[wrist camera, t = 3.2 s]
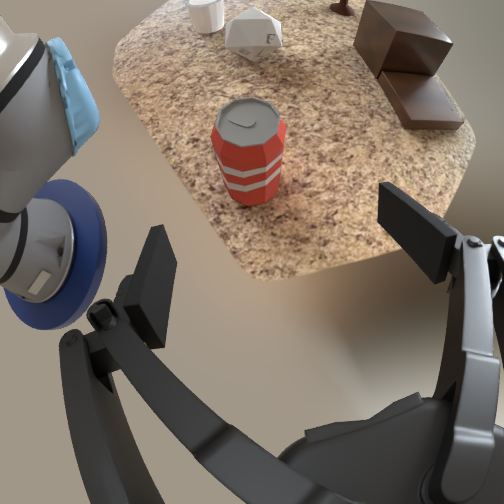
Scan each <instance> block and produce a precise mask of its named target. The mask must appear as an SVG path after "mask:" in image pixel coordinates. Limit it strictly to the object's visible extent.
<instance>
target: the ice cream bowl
mask: <svg viewBox="0 0 504 504" xmlns="http://www.w3.org/2000/svg"><path fill="white" fill-rule="evenodd" d="M347 4H348V0H340V3H335V4H331V6H330V9H331V10H332V11H333V12H336V13H338V14H340V15H346V16H351V15H354V10H353V9H352V8H351V7H349V6H348V5H347Z"/></svg>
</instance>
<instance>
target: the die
mask: <svg viewBox="0 0 504 504" xmlns="http://www.w3.org/2000/svg"><path fill="white" fill-rule="evenodd" d="M280 47H282V39H281V22H279V21H277V20H276V19H274V18H272V17H271V16H269V15H267V14H266V13H264V12H262V11H260V10H258V9H257V8H255V7H253V6H252V7H251V8H249V9H248V10H246V11H244V12H243V13H241V14H239V15H238V16H236V17H235V18H233V19H232V20H230V21H229V22H227V23H226V33H225V48H227V49H229V50H231V51H233V52H235V53H237V54H239V55H241V56H243V57H245V58H247V59H249V60H250V61H252V62H255V61H257V60H258V59H260V58H262V57H263V56H266V55H267V54H269V53H271V52H273V51H275V50H276V49H278V48H280Z"/></svg>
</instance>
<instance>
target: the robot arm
mask: <svg viewBox="0 0 504 504" xmlns="http://www.w3.org/2000/svg"><path fill="white" fill-rule="evenodd" d="M99 122H100V115H99V111H98V108H97V106H96V103H95V101H94V99H93V97H92V95H91V93H90V91H89V89H88V86H87V84H86V83H85V81H84V78H83V77H82V75H81V73H80V71H79V69H78V68H77V66H75V62H74V61H73V59H72V57H71V54H70V52H69V51H68V49H67V47H66V46H65V44H64V42H63V41H62V40H61V39H60V38H58V37H57V38H54V39H52V40H48V41H47V42H46V43H45V45H44V44H43V42H42V41H41V39H40V38H39V36H38V35H37V34H36V33H23V34H14V33H13V32H12V31H11V29H10V28H9V27H8V25H7V24H6V23H5V21H4V20H3V18H2V17H1V16H0V285H1V286H2V287H4V288H5V289H7V290H8V291H10V292H12V293H14V294H15V295H16V296H18V297H19V298H21V299H23V300H25V301H28V302H32V303H45V302H48V301H50V300H52V299H53V298H55V297H56V296H57V295H58V294H59V293H60V292H61V291H62V289H63V288H64V286H65V285H66V283H67V281H68V279H69V277H70V275H71V272H72V269H73V266H74V262H75V257H76V251H77V234H76V228H75V224H74V221H73V218H72V216H71V214H70V213H69V211H68V210H67V209H66V208H65V207H64V206H62V205H61V204H59V203H57V202H55V201H53V200H50V199H36V198H33V197H34V196H35V195H36V194H37V193H38V191H39V190H40V189H41V188H42V187H43V186H44V185H45V183H46V182H47V181H48V180H49V179H50V178H51V177H52V176H53V175H54V174H55V173H56V172H57V171H58V170H59V168H60V167H61V166H62V165H63V164H64V163H65V162H66V161H67V160H68V159H69V158H70V157H71V156H75V155H76V153H77V152H78V149H79V148H80V147H81V146H82V145H83V144H84V143H85V142H86V141H87V140H88V139H89V138H90V137H91V136H92V135H93V134H94V133H95V132H96V131H97V129H98V126H99ZM377 222H378V223H379V224H380V225H381V226H382V227H383V228H384V229H385V230H386V231H387V232H388V233H389V234H390V235H391V237H392V238H393V239H394V240H395V241H396V242H397V243H398V244H399V245H400V246H401V247H402V248H403V249H404V250H405V251H406V252H407V254H408V255H409V256H410V257H411V258H412V259H413V260H414V261H415V263H416V264H418V266H419V267H420V268H421V269H422V271H423V272H424V273H425V274H426V275H427V276H428V278H429V279H430V280H431V281H432V282H433V283H434V284H438V283H440V282H443V281H445V279H446V276H447V272H448V271H449V272H450V273H451V274H452V278H451V281H450V284H449V287H448V290H447V293H449V290H450V296H449V309H448V320H447V328H446V336H445V343H444V349H443V355H442V361H441V366H440V372H439V376H438V381H437V385H436V389H435V392H434V395H433V397H432V398H431V397H426V398H421V396H420V394H419V392H416V393H414V394H412V395H410V396H407V397H405V398H403V399H400V400H398V401H395V402H393V403H392V404H391V405H389V406H388V407H386V408H385V409H384V410H382V411H381V412H379V413H377V414H376V415H374V416H373V417H371V418H370V419H367V420H360V421H347V422H334V423H331V424H327V425H323V426H320V427H316V428H312V429H308V430H305V437H303V438H301V439H299V440H297V441H296V442H294V443H292V444H291V445H290V446H288V447H287V448H286V449H285V450H284V451H283V452H282V453H281V454H280V455H279V456H278V457H277V458H276V457H275V456H273V455H272V454H271V453H269V452H268V451H266V450H265V449H264V448H262V447H261V446H260V445H258V444H257V443H255V442H254V441H253V440H252V439H250V438H249V437H248V436H246V435H245V434H244V433H242V432H241V431H240V430H239V429H237V428H236V427H234V426H233V425H231V424H228V423H226V422H225V421H224V420H223V419H222V418H220V417H219V416H218V415H217V414H216V413H215V412H214V411H212V410H211V409H210V408H209V407H208V406H207V405H206V404H205V403H203V402H202V401H201V400H200V399H199V398H198V397H197V396H196V395H195V394H194V393H192V391H190V390H189V389H188V388H187V387H186V386H185V385H184V384H183V383H182V382H181V381H180V380H179V379H178V378H177V377H176V376H175V375H174V374H173V373H172V372H171V371H170V370H169V369H168V368H167V367H166V366H165V365H164V364H163V363H162V362H161V361H160V360H159V358H158V357H157V356H156V355H155V354H154V353H153V352H152V351H151V350H150V349H158V348H165V342H166V334H167V326H168V318H169V312H170V305H171V298H172V291H173V284H174V279H175V273H176V267H177V261H176V258H175V255H174V253H173V250H172V248H171V245H170V242H169V239H168V236H167V234H166V231H165V228H164V225H163V224H162V225H158V226H154V227H151V229H150V231H149V234H148V237H147V239H146V241H145V244H144V247H143V249H142V252H141V255H140V257H139V260H138V263H137V265H136V268H135V271H134V274H132V275H127V276H126V277H125V278H124V279H123V280H122V282H121V283H120V285H119V288H118V291H117V293H116V297H115V299H114V302H112V301H111V300H110V299H101V300H99V301H97V302H95V303H94V304H93V305H92V306H90V308H89V309H88V311H87V314H86V315H87V319H88V321H89V322H90V323H91V325H92V326H93V328H94V329H95V331H93V332H90V333H88V334H86V335H83V334H82V333H81V331H79V330H78V329H73V330H70V331H68V332H67V333H65V334H64V335H63V337H62V338H61V340H60V343H59V354H60V368H61V377H62V386H63V395H64V401H65V408H66V414H67V420H68V425H69V430H70V435H71V439H72V444H73V448H74V452H75V456H76V459H77V463H78V467H79V470H80V474H81V477H82V480H83V483H84V486H85V489H86V492H87V495H88V498H89V500H90V503H91V504H165V503H164V501H163V499H162V497H161V495H160V493H159V491H158V489H157V488H156V486H155V484H154V482H153V480H152V478H151V476H150V474H149V472H148V469H147V467H146V465H145V463H144V461H143V459H142V456H141V454H140V452H139V450H138V447H137V445H136V442H135V440H134V438H133V435H132V432H131V430H130V427H129V425H128V422H127V419H126V417H125V414H124V411H123V408H122V405H121V402H120V399H119V396H118V393H117V390H116V387H115V383H114V380H113V376H112V373H111V372H114V371H116V370H119V369H121V370H122V371H123V372H124V374H125V375H126V377H127V378H128V380H129V381H130V382H131V384H132V385H133V386H134V388H135V389H136V390H137V391H138V393H139V394H140V395H141V397H142V398H143V399H144V400H145V402H146V403H147V404H148V405H149V407H150V408H151V409H152V410H153V412H154V413H155V414H156V415H157V416H158V417H159V419H160V420H161V421H162V422H163V423H164V424H165V425H166V427H167V428H168V429H169V430H170V431H171V432H172V433H173V434H174V435H175V436H176V438H177V439H178V440H179V441H180V442H181V443H182V444H183V445H184V446H185V447H186V448H187V449H188V450H189V451H190V452H191V453H192V454H193V456H194V458H195V459H196V460H197V461H198V462H199V463H200V464H201V465H202V466H203V467H204V468H205V469H206V470H207V471H208V472H210V473H211V474H212V475H213V476H214V477H215V478H216V479H217V480H218V481H220V482H221V483H222V484H223V485H224V486H225V487H227V488H228V489H229V490H230V491H231V492H233V493H234V494H235V495H236V496H237V497H239V498H240V499H241V500H242V501H244V502H245V503H246V504H504V428H503V427H500V426H498V425H496V424H495V418H496V411H497V403H498V393H499V379H500V360H499V358H498V357H494V355H493V346H494V345H493V343H494V342H493V341H494V337H493V324H494V328H495V332H496V336H497V340H498V344H499V348H500V353H501V358H502V363H503V368H504V237H503V236H495V237H493V240H492V243H491V244H483V242H482V241H481V240H480V239H478V238H477V237H474V236H469V235H468V236H463V235H462V234H461V233H459V232H458V231H457V230H456V229H455V228H454V227H453V226H450V224H449V223H448V222H446V221H445V220H444V219H443V218H441V217H440V216H438V215H436V214H434V213H431V212H430V211H429V210H427V209H426V208H425V207H423V206H422V205H421V204H419V203H418V202H417V201H415V200H414V199H413V198H411V197H410V196H409V195H407V194H406V193H404V192H403V191H402V190H400V189H399V188H397V187H396V186H395V185H393V184H392V183H390V182H383V183H379V198H378V219H377ZM501 278H502V279H501ZM144 342H145V343H146V344H145V343H144Z"/></svg>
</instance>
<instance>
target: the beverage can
mask: <svg viewBox="0 0 504 504" xmlns="http://www.w3.org/2000/svg"><path fill="white" fill-rule="evenodd" d="M285 133H286V126H285V124H284V123H283V121H282V120H281V119H280V114H279V113H278V112H277V110H276V109H275V108H274V106H273V105H272V104H271V103H270V102H267V101H265V100H262V99H259V98H256V97H246V98H238V99H233V100H232V101H230V102H229V103H228V104H226V105H225V106H223V107H222V108H221V109H219V112H218V115H217V118H216V120H215V124H214V127H213V130H212V134H211V140H212V143H213V147H214V150H215V154H216V157H217V160H218V164H219V167H220V171H221V174H222V177H223V181H224V184H225V186H226V188H227V190H228V192H229V194H230V196H231V198H232V199H234V200H236V201H238V202H240V203H243V204H245V205H247V206H250V205H257V204H264V203H266V202H267V201H268V200H269V199H270V198H272V197H273V196H274V195H275V194H276V193H277V192H278V187H279V180H280V173H281V165H282V157H283V149H284V141H285Z"/></svg>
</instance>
